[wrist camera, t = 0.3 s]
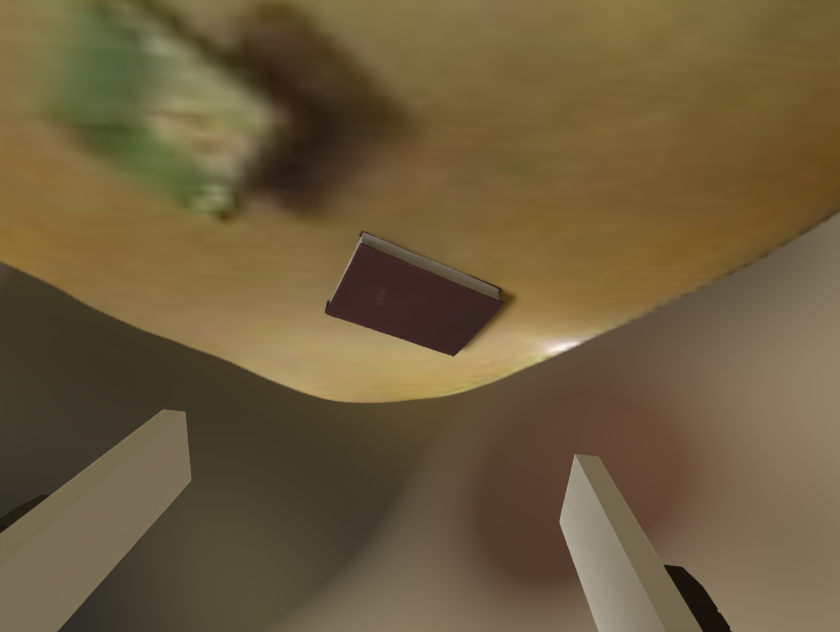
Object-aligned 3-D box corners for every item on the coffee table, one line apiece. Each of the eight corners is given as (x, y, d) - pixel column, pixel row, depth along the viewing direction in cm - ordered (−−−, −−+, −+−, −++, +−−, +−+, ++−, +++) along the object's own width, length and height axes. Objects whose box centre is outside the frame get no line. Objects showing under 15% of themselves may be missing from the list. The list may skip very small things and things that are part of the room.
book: (451, 343, 60) (453, 360, 58) (326, 300, 54) (322, 317, 51) (501, 285, 53) (505, 303, 50) (362, 227, 46) (359, 244, 44)
